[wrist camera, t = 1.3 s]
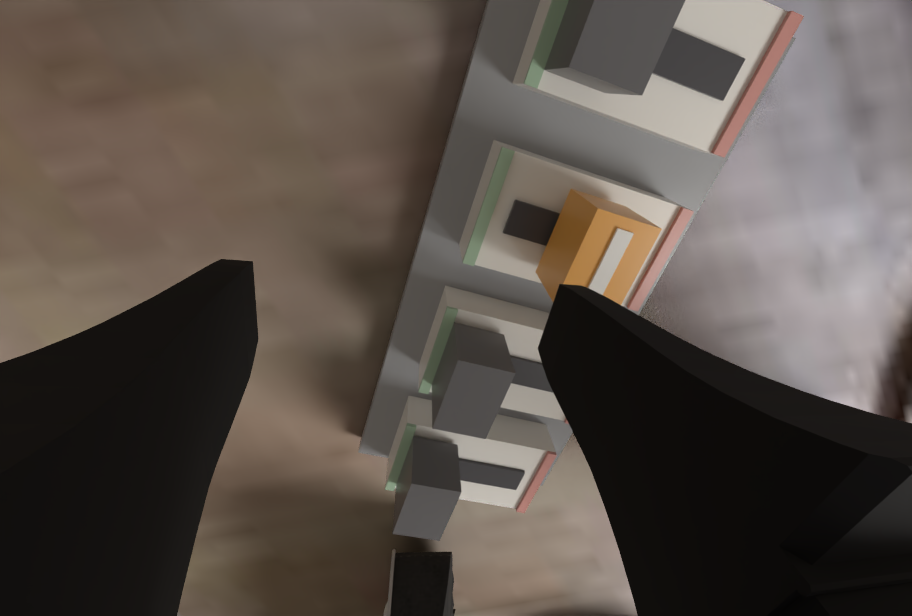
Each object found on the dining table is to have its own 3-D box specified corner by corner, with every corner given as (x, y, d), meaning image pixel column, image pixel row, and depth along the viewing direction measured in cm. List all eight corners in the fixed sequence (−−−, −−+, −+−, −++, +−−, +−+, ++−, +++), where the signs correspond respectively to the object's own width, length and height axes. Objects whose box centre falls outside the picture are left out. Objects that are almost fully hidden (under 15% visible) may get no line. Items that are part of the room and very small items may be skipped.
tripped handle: (625, 206, 17) (663, 229, 14) (586, 286, 19) (614, 321, 16) (570, 188, 17) (599, 209, 14) (535, 271, 18) (554, 305, 15)
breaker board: (774, 41, 18) (937, 21, 12) (537, 471, 29) (565, 568, 23) (508, -76, 16) (555, -168, 10) (361, 437, 27) (342, 535, 21)
